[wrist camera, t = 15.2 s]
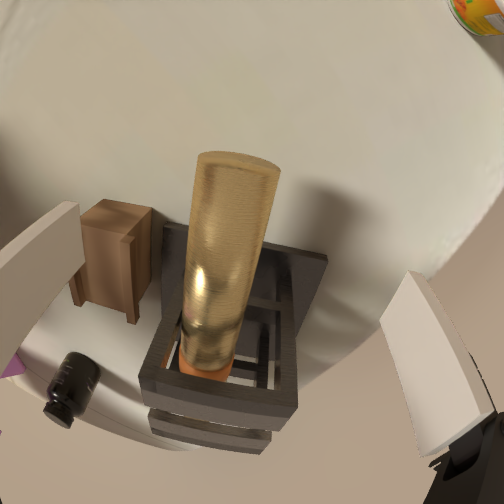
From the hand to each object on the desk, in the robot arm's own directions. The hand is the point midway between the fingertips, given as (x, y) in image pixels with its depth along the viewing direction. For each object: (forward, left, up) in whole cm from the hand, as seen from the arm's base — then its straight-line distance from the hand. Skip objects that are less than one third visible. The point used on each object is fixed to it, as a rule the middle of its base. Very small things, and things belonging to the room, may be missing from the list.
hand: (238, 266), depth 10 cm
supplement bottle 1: (-22, -35, -13) cm, 43 cm away
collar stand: (0, -13, -13) cm, 18 cm away
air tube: (-1, -9, -5) cm, 11 cm away
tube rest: (-11, -9, -13) cm, 18 cm away
